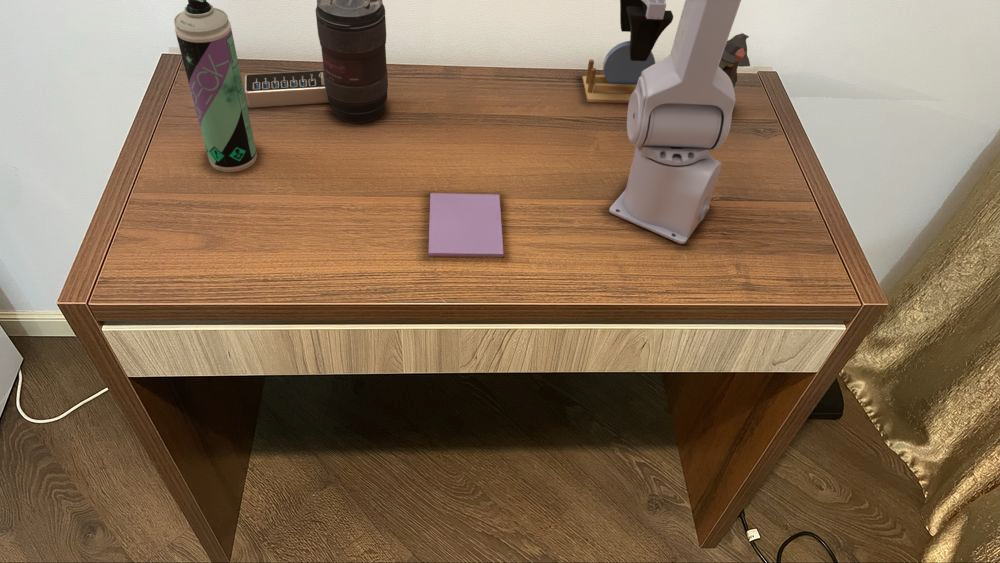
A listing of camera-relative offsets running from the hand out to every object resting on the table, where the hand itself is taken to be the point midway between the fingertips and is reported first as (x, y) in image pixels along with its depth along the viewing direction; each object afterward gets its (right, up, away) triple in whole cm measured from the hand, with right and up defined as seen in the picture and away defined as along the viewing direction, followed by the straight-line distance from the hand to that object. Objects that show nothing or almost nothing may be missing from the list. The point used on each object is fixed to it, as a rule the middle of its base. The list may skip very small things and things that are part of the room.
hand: (633, 44), depth 101 cm
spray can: (-50, -17, -11) cm, 54 cm away
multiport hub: (-45, -7, -1) cm, 46 cm away
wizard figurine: (+12, -9, +3) cm, 15 cm away
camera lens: (-36, -9, -2) cm, 37 cm away
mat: (-22, -25, -17) cm, 37 cm away
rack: (0, -5, +5) cm, 7 cm away
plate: (0, -2, +2) cm, 3 cm away
